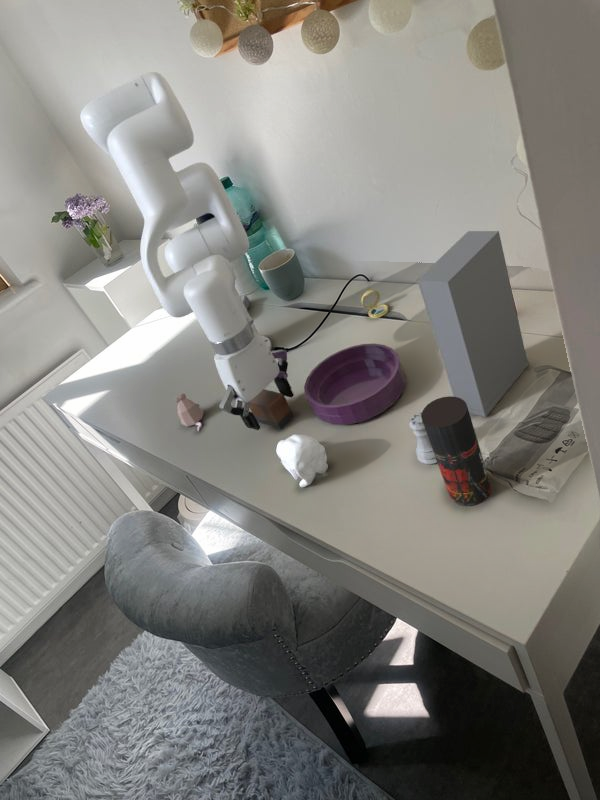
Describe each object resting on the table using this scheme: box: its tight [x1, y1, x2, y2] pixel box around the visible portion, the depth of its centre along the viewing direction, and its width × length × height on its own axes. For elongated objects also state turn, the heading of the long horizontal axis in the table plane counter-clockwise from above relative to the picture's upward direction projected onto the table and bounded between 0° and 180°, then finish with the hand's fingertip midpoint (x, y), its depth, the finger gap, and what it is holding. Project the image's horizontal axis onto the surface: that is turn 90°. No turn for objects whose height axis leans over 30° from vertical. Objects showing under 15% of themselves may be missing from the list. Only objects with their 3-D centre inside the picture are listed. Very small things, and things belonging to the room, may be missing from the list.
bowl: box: [303, 343, 407, 426], centre depth 113 cm, size 18×18×5 cm
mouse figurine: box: [174, 392, 204, 432], centre depth 128 cm, size 5×8×7 cm, turn 21°
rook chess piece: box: [408, 411, 438, 465], centre depth 93 cm, size 4×4×8 cm
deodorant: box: [421, 395, 492, 507], centre depth 83 cm, size 6×6×15 cm
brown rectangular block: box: [249, 388, 295, 430], centre depth 118 cm, size 7×4×6 cm, turn 46°
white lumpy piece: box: [275, 434, 329, 488], centre depth 102 cm, size 6×8×12 cm
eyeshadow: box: [360, 289, 389, 319], centre depth 134 cm, size 4×5×5 cm
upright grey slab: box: [416, 230, 530, 418], centre depth 95 cm, size 14×6×25 cm, turn 134°
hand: (271, 411), depth 117 cm, fingers open, 9 cm apart
